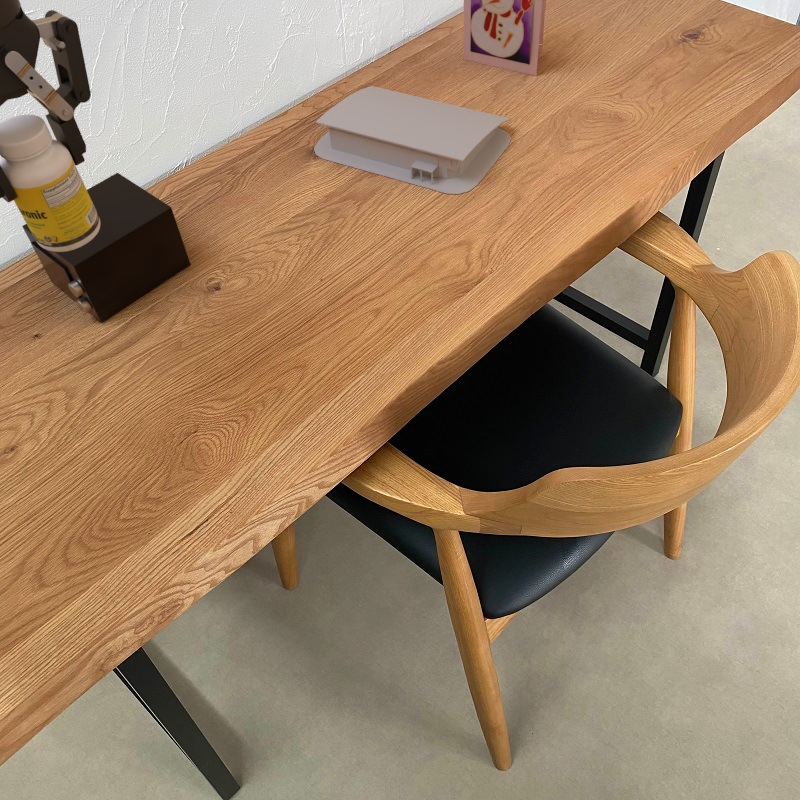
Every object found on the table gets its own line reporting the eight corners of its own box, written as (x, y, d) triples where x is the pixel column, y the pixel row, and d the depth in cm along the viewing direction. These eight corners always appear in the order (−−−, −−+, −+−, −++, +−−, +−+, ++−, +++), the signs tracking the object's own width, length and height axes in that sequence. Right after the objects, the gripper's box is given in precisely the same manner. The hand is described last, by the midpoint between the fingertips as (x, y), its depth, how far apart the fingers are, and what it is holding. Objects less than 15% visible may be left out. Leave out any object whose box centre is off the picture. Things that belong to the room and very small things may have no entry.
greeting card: (460, 62, 115) (460, -49, 103) (483, 39, 119) (486, -71, 107) (533, 78, 111) (542, -36, 99) (555, 54, 115) (565, -58, 103)
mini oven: (95, 327, 84) (66, 270, 78) (45, 287, 89) (14, 229, 83) (191, 265, 90) (171, 206, 83) (140, 229, 94) (117, 172, 88)
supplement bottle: (24, 236, 66) (-33, 132, 59) (80, 204, 69) (32, 100, 61) (58, 263, 64) (2, 158, 56) (114, 230, 66) (69, 124, 59)
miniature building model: (466, 199, 94) (466, 170, 91) (305, 153, 102) (300, 126, 99) (518, 132, 102) (520, 104, 99) (365, 95, 110) (363, 68, 107)
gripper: (3, -104, 54) (94, 121, 67) (-212, -27, 48) (-66, 204, 61) (60, -79, 50) (145, 153, 63) (-164, 8, 44) (-19, 245, 57)
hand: (41, 177), depth 62 cm, fingers closed on supplement bottle, 5 cm apart
